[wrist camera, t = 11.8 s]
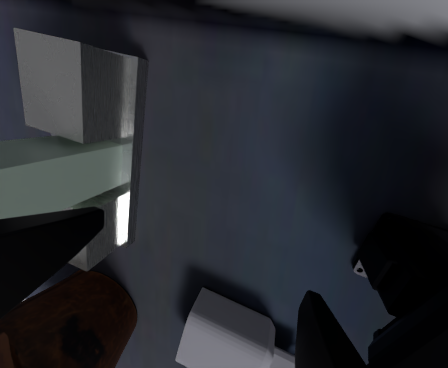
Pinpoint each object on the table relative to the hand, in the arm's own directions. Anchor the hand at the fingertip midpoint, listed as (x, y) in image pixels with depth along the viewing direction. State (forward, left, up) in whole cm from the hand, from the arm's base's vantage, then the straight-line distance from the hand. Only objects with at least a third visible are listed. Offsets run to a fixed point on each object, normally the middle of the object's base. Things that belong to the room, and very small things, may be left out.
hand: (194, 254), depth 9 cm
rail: (+16, +3, -13) cm, 21 cm away
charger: (-6, +21, -14) cm, 25 cm away
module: (+16, +3, -12) cm, 20 cm away
